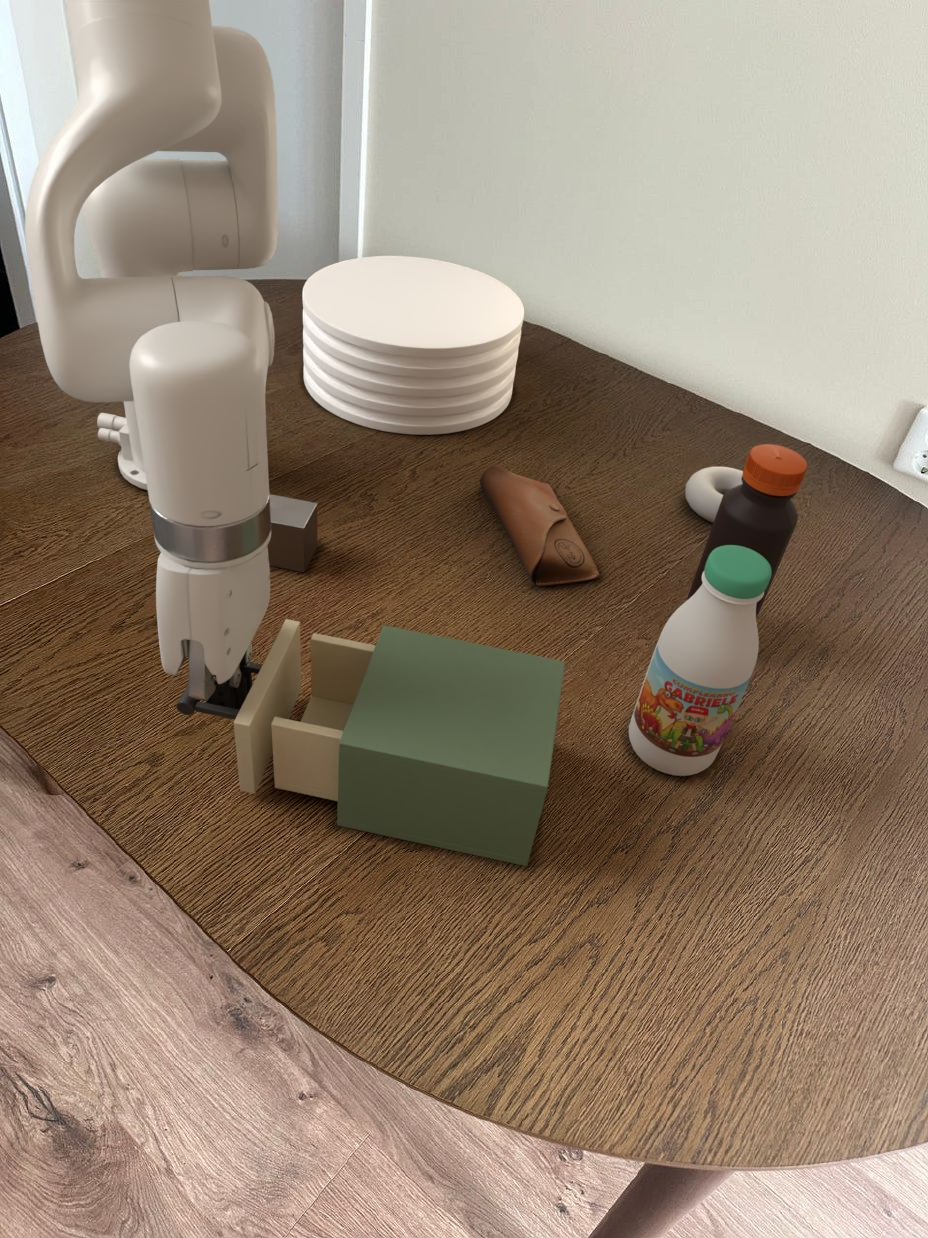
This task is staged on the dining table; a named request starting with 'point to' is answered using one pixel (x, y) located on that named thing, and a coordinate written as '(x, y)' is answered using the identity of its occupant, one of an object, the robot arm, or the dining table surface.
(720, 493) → the donut
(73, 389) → the robot arm
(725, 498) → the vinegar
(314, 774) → the drawer
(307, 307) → the plate stack
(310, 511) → the matte grey box
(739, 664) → the milk bottle
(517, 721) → the cabinet
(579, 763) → the dining table surface
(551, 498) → the sunglasses case
